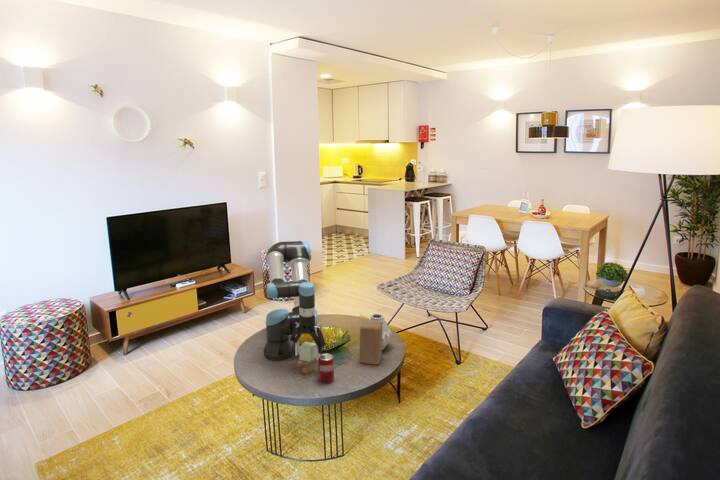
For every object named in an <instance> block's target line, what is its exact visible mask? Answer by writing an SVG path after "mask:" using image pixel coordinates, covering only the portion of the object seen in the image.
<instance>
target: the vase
mask: <svg viewBox="0 0 720 480" xmlns="http://www.w3.org/2000/svg"><path fill="white" fill-rule="evenodd" d="M368 320H371V321H381V322H382V351H384V349H385V348H386V346H387V345H388V343H389V342H390V339H391V337H392V336H393V333H392V330H391V328H389V326H388V323H387V321H386V320H385V318H384V315H382V314H380V313H375V314H374V313H373V314H371V316H370V317H369V319H368Z"/></svg>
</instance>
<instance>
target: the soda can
mask: <svg viewBox="0 0 720 480" xmlns="http://www.w3.org/2000/svg"><path fill="white" fill-rule="evenodd" d="M317 367H318V370H317V372H318V381H319V383H321V384H324V385H327V384H331V383H333V382H334V380H335V356H334V355H333V354H330V353H321V354H320V356H319V358H318V366H317Z"/></svg>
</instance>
